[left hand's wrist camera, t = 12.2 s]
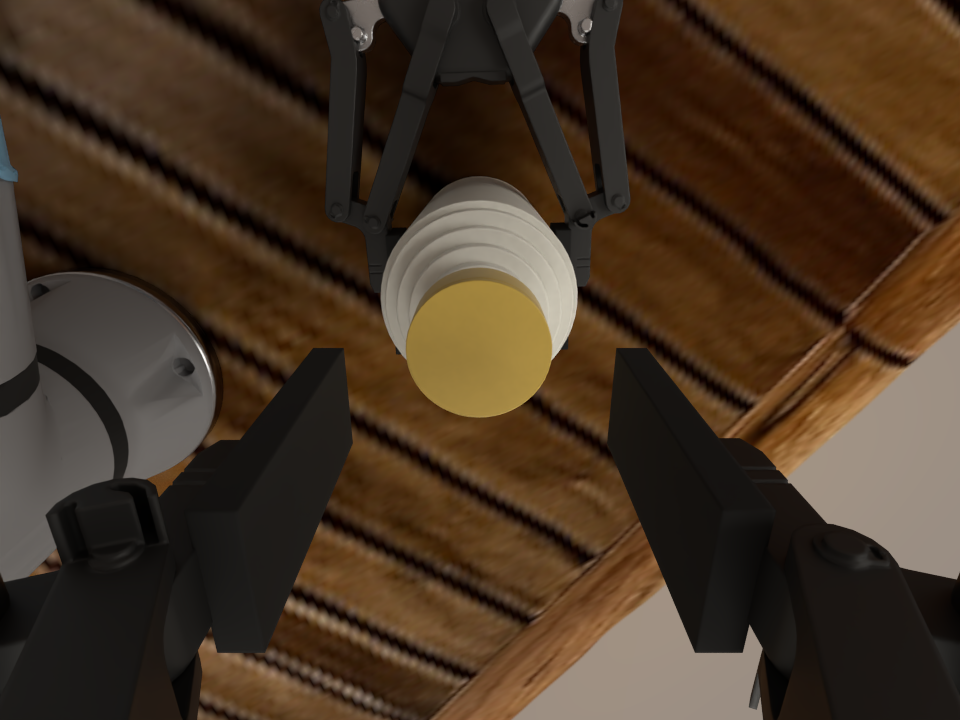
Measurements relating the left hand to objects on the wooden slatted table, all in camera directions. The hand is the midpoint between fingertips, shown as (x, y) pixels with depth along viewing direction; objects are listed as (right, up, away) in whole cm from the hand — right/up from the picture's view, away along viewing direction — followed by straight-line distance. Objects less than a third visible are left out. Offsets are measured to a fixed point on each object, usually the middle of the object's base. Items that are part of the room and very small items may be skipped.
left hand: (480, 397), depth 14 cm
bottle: (0, +9, +22) cm, 24 cm away
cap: (0, +1, +3) cm, 4 cm away
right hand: (0, +2, +18) cm, 18 cm away
